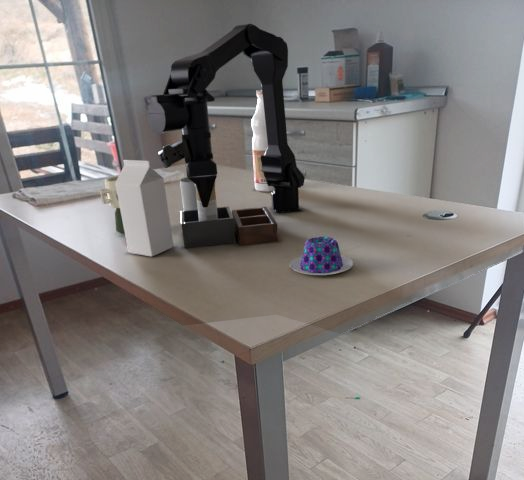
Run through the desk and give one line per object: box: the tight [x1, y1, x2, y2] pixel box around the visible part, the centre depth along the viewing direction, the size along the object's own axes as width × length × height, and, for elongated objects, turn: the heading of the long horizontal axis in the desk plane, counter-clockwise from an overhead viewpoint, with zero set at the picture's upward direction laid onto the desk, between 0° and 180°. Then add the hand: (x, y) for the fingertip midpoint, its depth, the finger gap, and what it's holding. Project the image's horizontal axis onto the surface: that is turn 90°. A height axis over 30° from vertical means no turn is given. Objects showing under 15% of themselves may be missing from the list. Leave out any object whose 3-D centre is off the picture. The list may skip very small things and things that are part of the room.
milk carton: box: [115, 159, 174, 257], centre depth 110 cm, size 7×7×19 cm
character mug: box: [99, 175, 125, 235], centre depth 126 cm, size 11×7×13 cm, turn 130°
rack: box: [231, 206, 279, 246], centre depth 121 cm, size 8×16×4 cm, turn 9°
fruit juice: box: [250, 89, 273, 192], centre depth 157 cm, size 9×9×28 cm
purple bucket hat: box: [289, 236, 354, 276], centre depth 98 cm, size 12×12×5 cm
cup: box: [179, 176, 198, 211], centre depth 135 cm, size 8×8×10 cm
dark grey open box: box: [180, 206, 236, 249], centre depth 119 cm, size 11×11×6 cm
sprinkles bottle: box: [194, 182, 218, 221], centre depth 117 cm, size 5×5×13 cm
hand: (204, 202), depth 117 cm, fingers open, 9 cm apart
